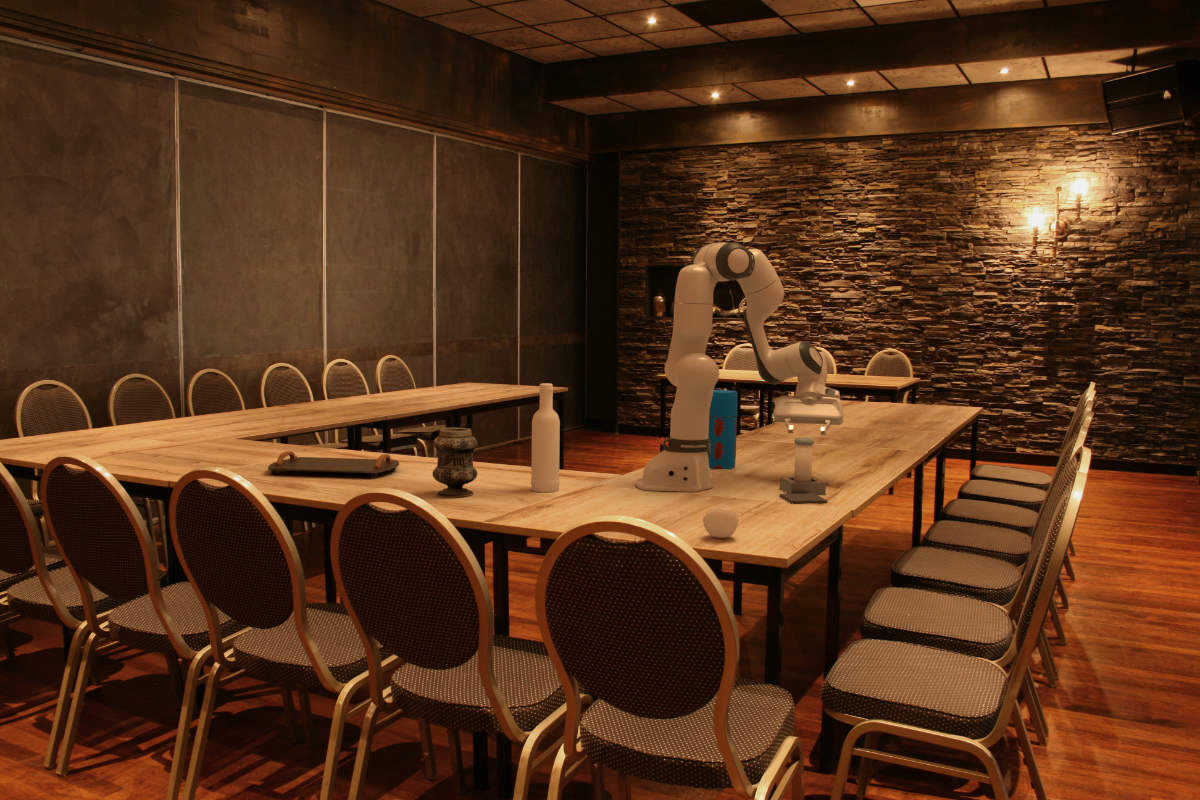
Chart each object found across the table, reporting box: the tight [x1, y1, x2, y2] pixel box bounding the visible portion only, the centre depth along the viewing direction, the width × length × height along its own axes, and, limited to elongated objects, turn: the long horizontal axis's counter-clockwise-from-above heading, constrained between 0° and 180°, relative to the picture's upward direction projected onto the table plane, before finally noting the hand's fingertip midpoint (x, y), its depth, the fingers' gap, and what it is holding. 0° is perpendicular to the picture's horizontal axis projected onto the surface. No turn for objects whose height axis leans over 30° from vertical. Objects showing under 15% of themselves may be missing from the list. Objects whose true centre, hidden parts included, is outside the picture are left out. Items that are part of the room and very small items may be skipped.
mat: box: [779, 493, 828, 505], centre depth 265 cm, size 10×10×1 cm
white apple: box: [702, 504, 739, 539], centre depth 219 cm, size 8×8×8 cm
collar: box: [779, 476, 827, 496], centre depth 277 cm, size 10×10×4 cm
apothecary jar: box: [432, 427, 478, 498], centre depth 264 cm, size 12×12×18 cm
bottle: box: [530, 382, 561, 494], centre depth 272 cm, size 8×8×30 cm
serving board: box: [267, 450, 400, 480], centre depth 299 cm, size 39×23×6 cm, turn 84°
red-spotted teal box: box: [708, 389, 738, 470], centre depth 318 cm, size 11×11×25 cm
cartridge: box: [793, 437, 815, 482], centre depth 277 cm, size 5×5×15 cm
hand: (806, 432), depth 285 cm, fingers open, 8 cm apart
